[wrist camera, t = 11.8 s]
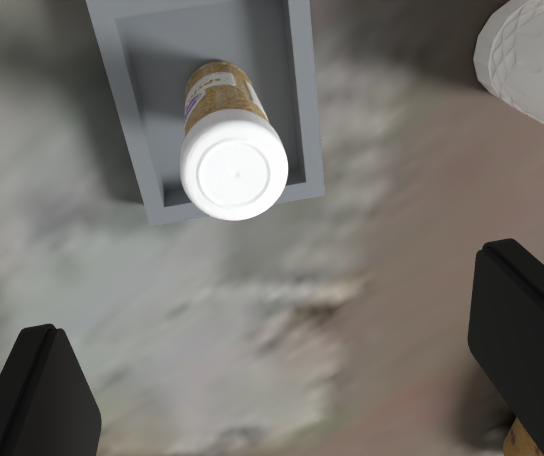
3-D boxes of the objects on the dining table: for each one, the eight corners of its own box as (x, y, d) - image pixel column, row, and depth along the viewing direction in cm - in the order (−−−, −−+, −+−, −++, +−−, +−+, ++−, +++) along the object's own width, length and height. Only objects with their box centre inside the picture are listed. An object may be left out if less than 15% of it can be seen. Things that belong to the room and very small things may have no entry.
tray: (95, -6, 29) (84, -3, 26) (296, -36, 29) (306, -35, 27) (153, 206, 35) (150, 226, 33) (315, 177, 36) (324, 195, 33)
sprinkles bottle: (192, 51, 30) (193, 107, 18) (262, 71, 31) (305, 136, 20) (177, 121, 32) (169, 212, 20) (243, 138, 33) (272, 233, 22)
